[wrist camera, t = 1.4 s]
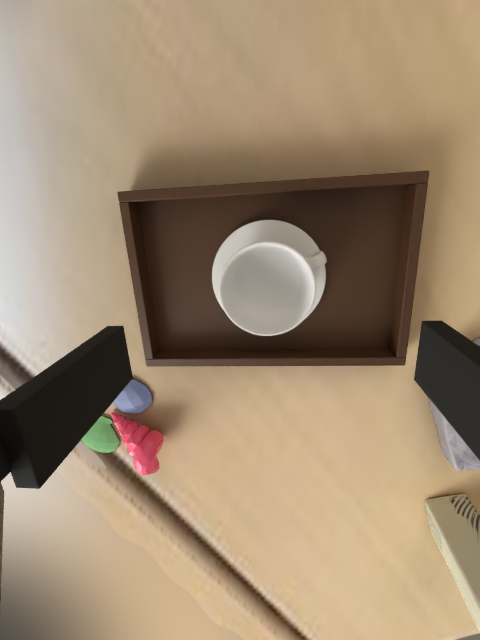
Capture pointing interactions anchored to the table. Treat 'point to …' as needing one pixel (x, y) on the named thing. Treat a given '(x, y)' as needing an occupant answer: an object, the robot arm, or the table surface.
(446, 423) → the stone block
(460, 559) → the box
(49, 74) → the table surface
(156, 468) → the toy pieces
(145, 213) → the tray
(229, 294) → the teacup
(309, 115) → the table surface
